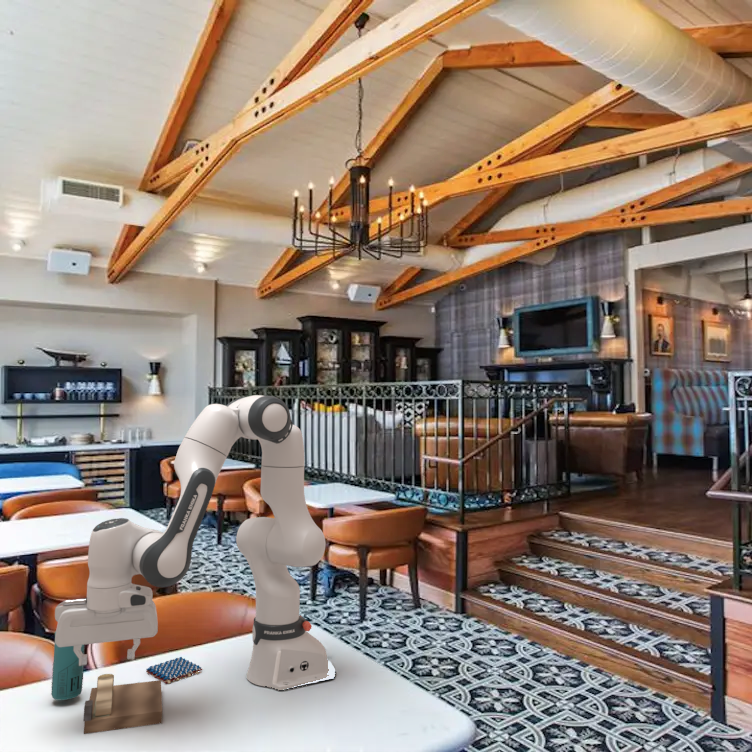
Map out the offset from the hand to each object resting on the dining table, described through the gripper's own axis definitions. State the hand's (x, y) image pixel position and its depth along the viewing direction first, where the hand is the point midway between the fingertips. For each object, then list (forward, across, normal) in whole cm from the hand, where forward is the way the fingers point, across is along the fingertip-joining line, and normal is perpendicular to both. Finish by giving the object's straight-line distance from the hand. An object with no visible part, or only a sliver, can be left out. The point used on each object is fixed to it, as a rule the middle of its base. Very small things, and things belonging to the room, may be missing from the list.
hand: (107, 661), depth 131 cm
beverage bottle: (+12, -9, +12) cm, 19 cm away
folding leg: (+9, -1, +3) cm, 10 cm away
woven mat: (+14, +15, +21) cm, 29 cm away
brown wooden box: (+12, +4, +3) cm, 13 cm away
